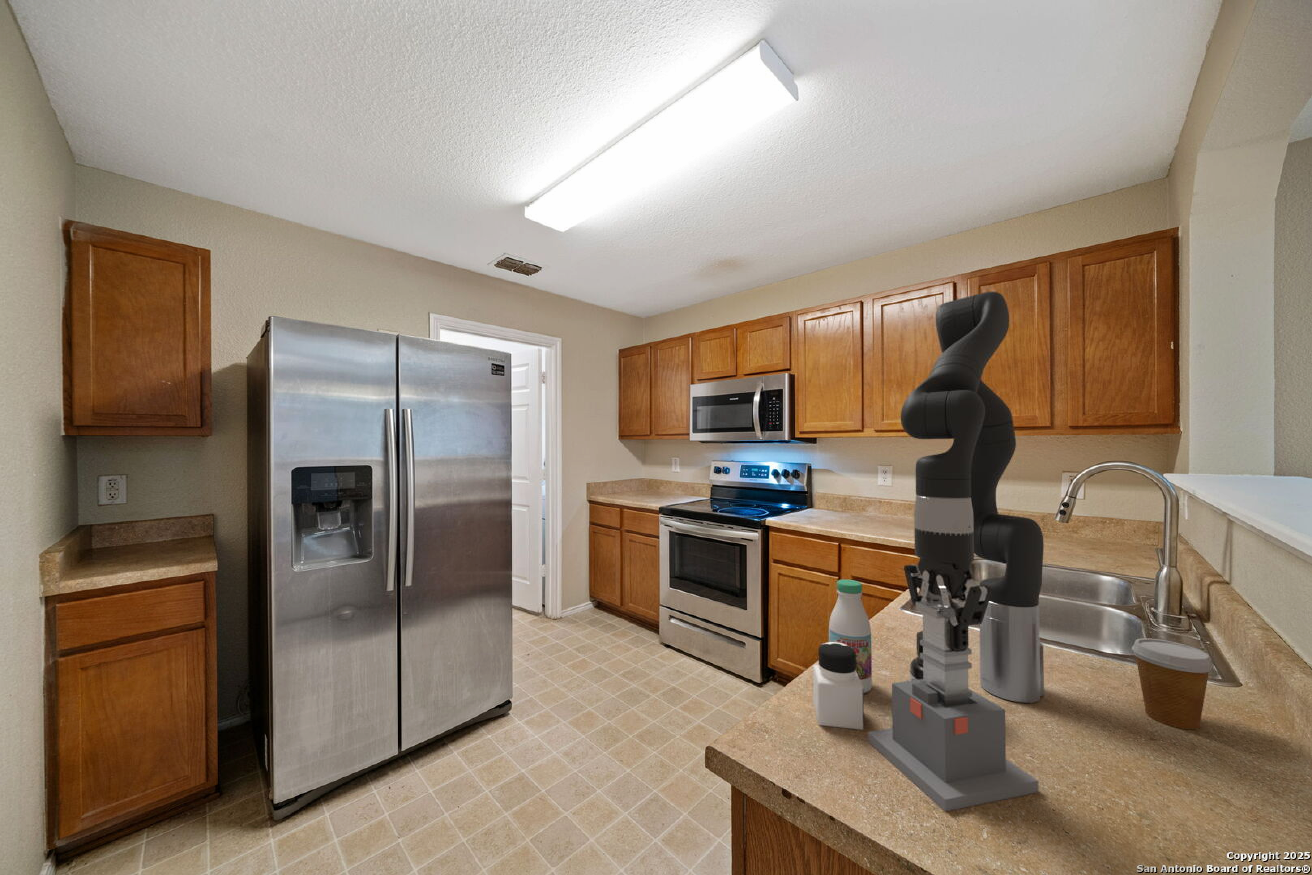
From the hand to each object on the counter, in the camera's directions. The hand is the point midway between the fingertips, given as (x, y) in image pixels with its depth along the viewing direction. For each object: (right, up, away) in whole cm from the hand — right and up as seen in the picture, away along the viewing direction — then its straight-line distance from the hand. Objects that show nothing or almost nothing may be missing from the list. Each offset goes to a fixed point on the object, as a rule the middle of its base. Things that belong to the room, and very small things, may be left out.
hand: (944, 643), depth 71 cm
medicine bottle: (-11, -18, +12) cm, 24 cm away
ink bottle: (+8, -18, +16) cm, 26 cm away
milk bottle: (-5, -18, +23) cm, 30 cm away
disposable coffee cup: (+45, -18, +11) cm, 50 cm away
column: (0, -12, 0) cm, 12 cm away
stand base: (0, -18, 0) cm, 18 cm away
